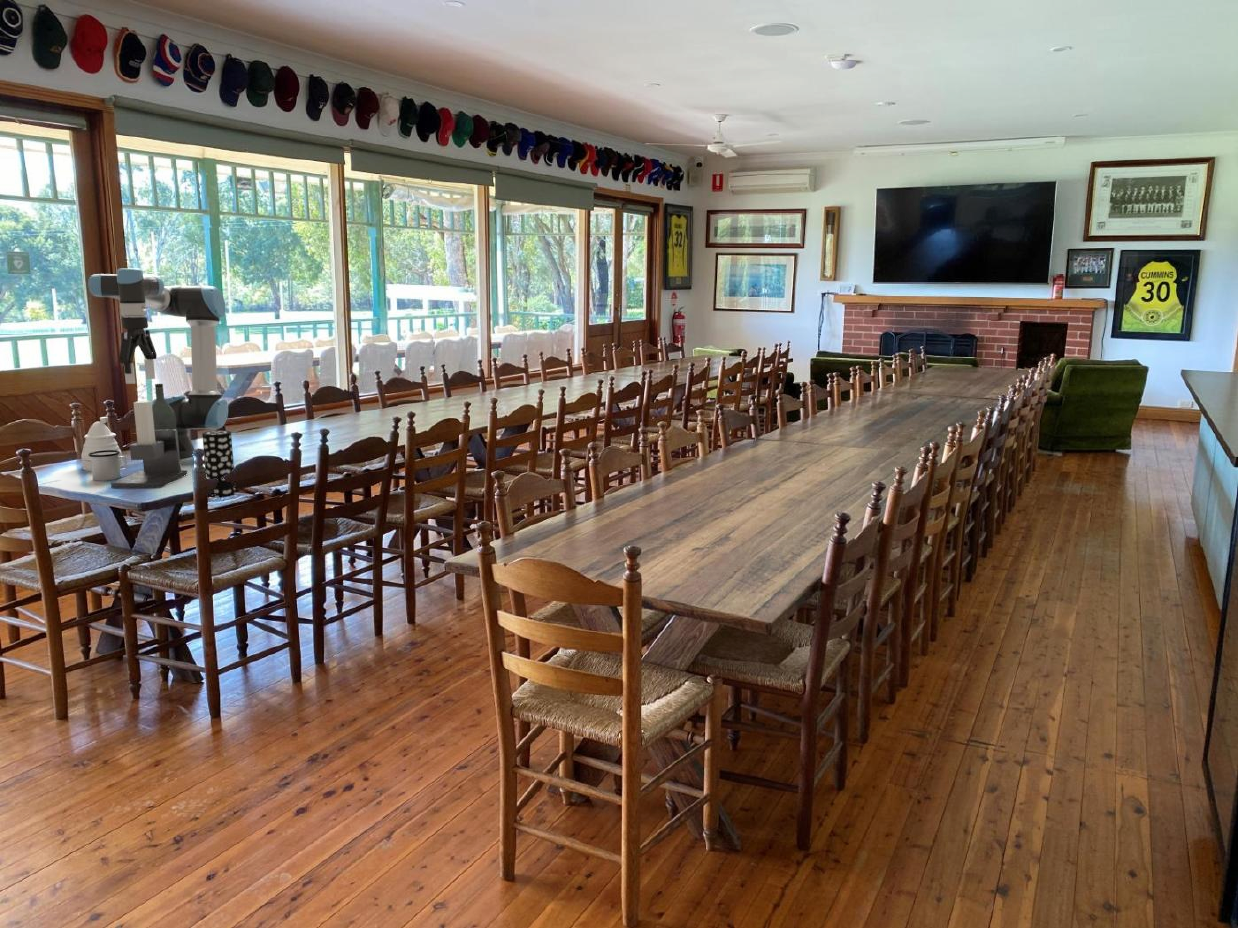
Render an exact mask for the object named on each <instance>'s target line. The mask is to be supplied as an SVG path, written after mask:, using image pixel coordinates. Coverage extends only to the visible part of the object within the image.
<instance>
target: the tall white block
mask: <svg viewBox="0 0 1238 928" xmlns="http://www.w3.org/2000/svg"><path fill="white" fill-rule="evenodd" d="M152 402H153V400H138V401H135V402H133V411H134V421H135V430H136V441H137V442H138V445H152V444H155V443H156V442H155V432H154V422H153V411H152ZM137 442H136V443H137Z"/></svg>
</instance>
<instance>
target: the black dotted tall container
mask: <svg viewBox="0 0 1238 928" xmlns="http://www.w3.org/2000/svg"><path fill="white" fill-rule="evenodd" d="M201 435H202V444H203V445H202V449H203V457H204V470H206V471H205V475H206V474H207V478H208V479H217V480H219V481H218V483H217V486H216V488H215V489H214V490H213V491H214V493H212V494H216V495H213V496H209V498H212V499H214V498H215V499H216V498H218V499H219V498H228V497H232V496H235V495H237V491H236V490H237V488H234V487H236V485H235V486H234V485H232V484H231V482H227V481H226V480H225V479H224V478H223V477H225V476H224V475H225V474H228V473H230V472H231V471H233V469H234V470H235V466H234V465H235V464H234V453H233V452H234V451H233V439H232V432H231V431H230V430H210V431H204V432H202V433H201ZM222 478H223V479H222Z"/></svg>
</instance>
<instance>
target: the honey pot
mask: <svg viewBox="0 0 1238 928" xmlns="http://www.w3.org/2000/svg"><path fill="white" fill-rule="evenodd" d="M99 420H100V421H95V422H94V423H93V424H92V425H91V426H90V427H89V430H88V432H87V434H85V435H84V437H83V438H84V439H85V441H84V443H83V446H82V447H83V448H82V452H81V454H80V455H81V456H80V457H81V466H82V470H84V471H89V472H92V467H91V458H90V456H88V454H89V453H91V452H95V451H102V450H117V451H120V454H118V457H120V456H123V454H122V450H121V448H120V446H119V445H118V442H117V440H116V439H115V437H116V435H117V434H116V433H114V432H111V430H110V429H109V427H108V426H107V425H106V423H107V422H108V420H109V417H108V416H102V417H99ZM123 460H124V459H123V458H119V467H120V468H122V467H123V466H124V461H123Z"/></svg>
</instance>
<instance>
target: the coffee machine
mask: <svg viewBox="0 0 1238 928" xmlns="http://www.w3.org/2000/svg"><path fill="white" fill-rule="evenodd" d="M154 432H155V442H156V443H155V444H152V445H138V442H135V443H132V444H129V452H130V460H131V461H142V464H143V465H142V466H143V469H142V470H138V471H136V472H134V473H131V474H129V475H127V476H124V477H122V478H118V479H116V480H115V481H113V482H110V487H111V488H113V489H114V488H116V489H117V488H119V489H120V488H123V489H124V488H127V489H128V488H129V489H130V488H131V489H134V488H139V489H140V488H145V489H147V488H162V487H164V486H166V484H167V485H168V483H169V484H170V482H171V483H172V482H175V481H177V480H179V479H181V478H183V477H185V476H187V475H188V470H182V468H181V467H182V466H181V458H180V455H179V445H178V434H177V430H154ZM186 474H187V475H186ZM184 475H185V476H184ZM182 476H183V477H182Z"/></svg>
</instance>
